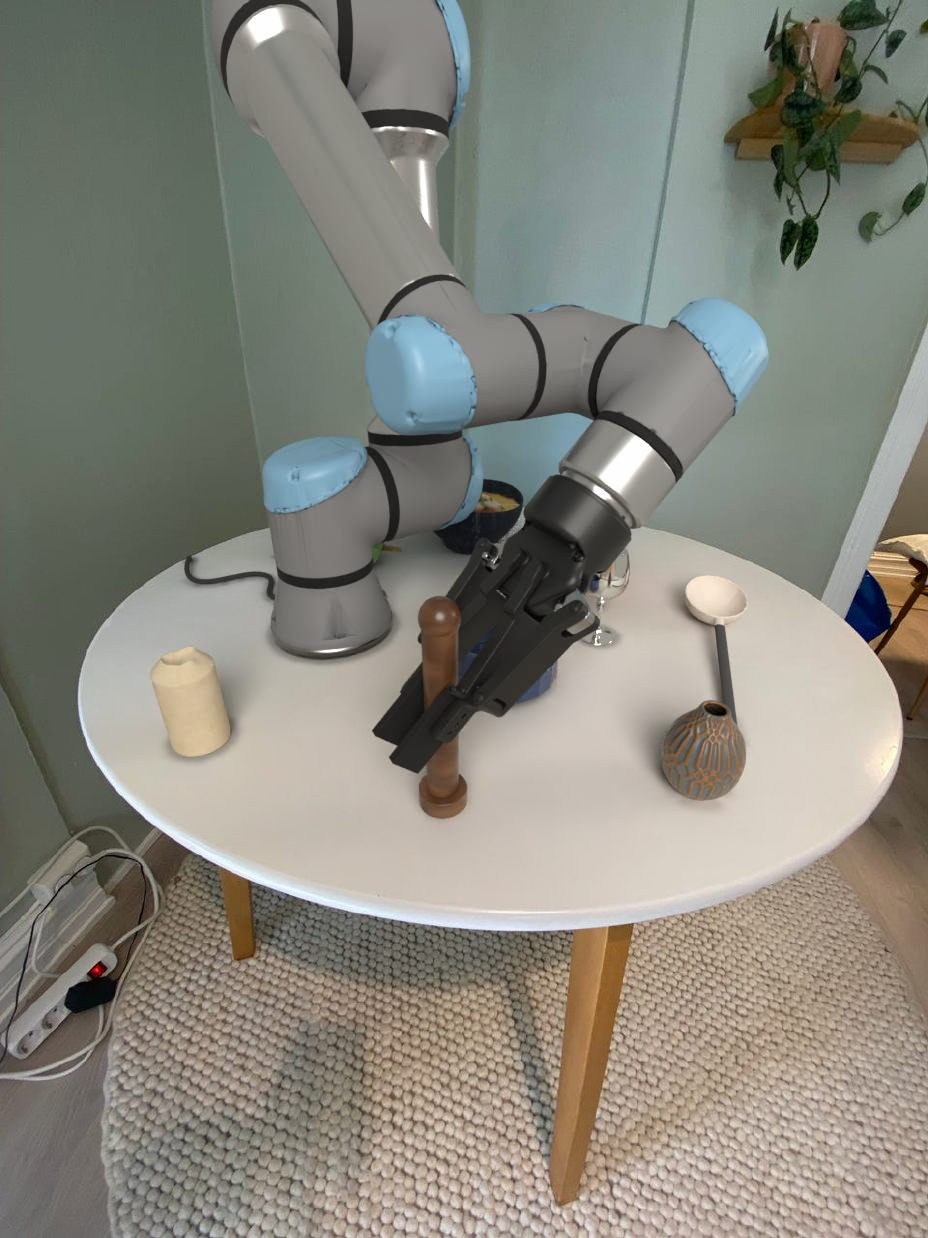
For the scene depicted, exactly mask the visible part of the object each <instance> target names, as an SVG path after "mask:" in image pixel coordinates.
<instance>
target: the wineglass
mask: <svg viewBox="0 0 928 1238" xmlns="http://www.w3.org/2000/svg"><path fill="white" fill-rule="evenodd" d="M630 574H631V564H630V554H629V550H628V548H627V547H625V549H624V550H623V551H622V552H621V554H620V555H619V556H618V557H617V558H616V560H615V561H614V562H613V563H612V565H611V566H610V567H609V568H608V570H607V571H606V572H604V573H602V574H595V575H594V576H593V578H592V580H591V582H590V586H589V589H588V591H587V593H586V595H588V596H589V597H591V598H593V599H596V600H597V601H596V604H595V607H596V616H597V617H598V618H599V619H600V620H601V618H602V614H603V610H604V609H605V606H606V602H605V601H609V600H613V599H616V598H618V597H621V595H622V594H623V593H625V591H626V589H627V588H628V585H629V582H630ZM614 640H615V636H614V633H612V632H611V630H609V629H607V628H604V627H602V626H599V627H598V629H597V630H595V631H594V632H592V633H590V634H589V635H587V636H585V637H583V638H582V639H581V641H583V642H585V643H586V644H590V645H592V646H593V645H594V646H605V645H609V644H611V643H612V642H613V641H614Z"/></svg>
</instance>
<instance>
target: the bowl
mask: <svg viewBox="0 0 928 1238" xmlns="http://www.w3.org/2000/svg"><path fill="white" fill-rule="evenodd" d="M523 507H524V496H523V493H522V492H521V491H520V490H519V489H518V488H517V487H516V486H515V485H513V484H511V483H508V482H505V481H501V480H498V479H490V478H489V479H488V478H483V487H482V492H481V496H480V499H479V502H478V504H477V506H476V508H475V509H474V510H473V511H472V512H471V513H470V514H469V516H468V517H467V518H466V519H464V520H462V521H460V522H458V523H455V524H452V525H449V526H447V527H446V528H444V529H440V530H435V531H432V532H433V533H434V534H435V535H436V536H437V537H438V538H440V539H441V540H442V542H443V543H444V545H445V547H446V548H447V549H448V550H449V551H452V552H454V553H457V554H462V555H463V554H464V555H472V552H473V550H474V547H475V545H476V543H477V541H478V540H479V539H481V538H483V537H485V538H487V539H488V540H489V541H490V542H491V543H492V544H496V543H498V542H499V541H500V540H501V539H503V537H505V536H506V535H508V533H509V532H510V531H511V530H512V529H513V528H514V527H515V525H516V524H517V522H518V521H519V519H520V517H521V515H522V512H523V510H524V508H523Z"/></svg>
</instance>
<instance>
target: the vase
mask: <svg viewBox="0 0 928 1238" xmlns="http://www.w3.org/2000/svg"><path fill="white" fill-rule="evenodd" d="M737 726H738V724H737V725H736V723H735V722H734V721H733V719H732V716H731V711H730V709H729V708H728V707H727V706H726V705H725V704H723V703H722V702H721V701H719V700H712V699H708V700H704V701H702V702H701V703H700V704H699V705H698V706H697V707H696V708H694V709H691V710H689V711H687V712H685V713H683V714H681V715H680V716H679V717H678V718H676V719H675V720H674V721H673V722H672V723H671V725H670V726H669V727H668V729H667V730H666V732H665V735H664V736H663V740H662V743H661V750H660V761H661V767H662V772H663V773H664V776H665V778H666V779H667V781H668V782H669V783H670V785H671V786H672V787H673V788H674V789H675V790H676V791H677V792H678V793H680V794H681V795H683V796H685V797H687V798H689V799H692V800H697V801H713V800H716V799H720V798H722V797H724V796H726V795H727V794H728V793H731V791H732V790H733V789H735V787H736V786H737V784H738V783H739V781H740V780H741V778H742V776H743V773H744V771H745V767H746V764H747V763H746V762H747V746H746V742H745V738H744V736H743V734H742V732H741V730H740V728H739V727H737Z"/></svg>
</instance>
